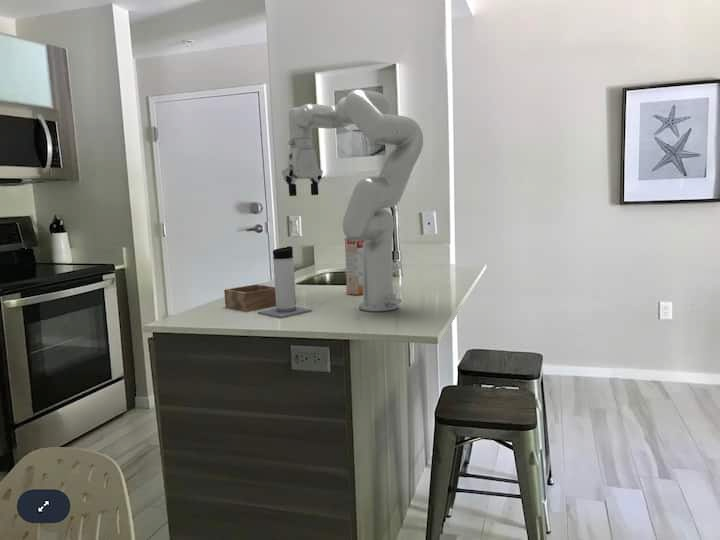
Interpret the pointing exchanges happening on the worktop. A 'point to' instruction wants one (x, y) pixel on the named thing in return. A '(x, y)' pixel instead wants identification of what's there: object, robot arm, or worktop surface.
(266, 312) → the mat
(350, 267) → the cracker box
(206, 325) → the worktop surface
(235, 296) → the crate
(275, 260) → the travel mug
